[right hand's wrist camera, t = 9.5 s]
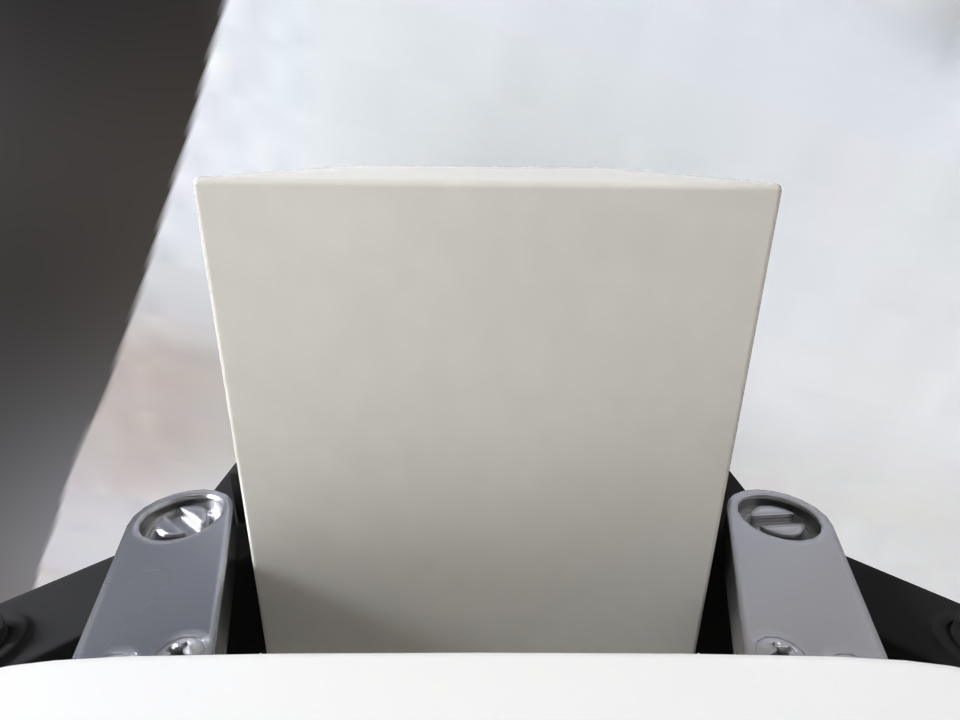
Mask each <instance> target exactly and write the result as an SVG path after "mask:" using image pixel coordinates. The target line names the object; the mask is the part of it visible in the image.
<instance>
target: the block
mask: <svg viewBox="0 0 960 720" xmlns="http://www.w3.org/2000/svg"><path fill="white" fill-rule="evenodd" d="M193 189H194V196H195V202H196V208H197V215H198V221H199V227H200V234H201V240H202V246H203V253H204V259H205V265H206V272H207V278H208V284H209V291H210V297H211V303H212V310H213V316H214V322H215V329H216V335H217V341H218V348H219V354H220V360H221V366H222V373H223V379H224V385H225V392H226V398H227V404H228V411H229V417H230V423H231V430H232V436H233V442H234V449H235V455H236V461H237V468H238V474H239V480H240V487H241V493H242V499H243V506H244V512H245V518H246V525H247V531H248V537H249V544H250V550H251V556H252V562H253V569H254V575H255V581H256V588H257V594H258V600H259V607H260V613H261V619H262V626H263V632H264V638H265V645H266V651H267V654H306V653H654V654H695V651H696V645H697V640H698V635H699V629H700V624H701V619H702V613H703V608H704V603H705V597H706V592H707V587H708V581H709V576H710V571H711V565H712V560H713V555H714V549H715V544H716V539H717V533H718V528H719V523H720V517H721V512H722V507H723V501H724V496H725V491H726V485H727V480H728V475H729V469H730V464H731V459H732V453H733V448H734V442H735V437H736V432H737V426H738V421H739V416H740V410H741V405H742V400H743V394H744V389H745V384H746V378H747V373H748V368H749V362H750V357H751V352H752V346H753V341H754V336H755V330H756V325H757V320H758V314H759V309H760V304H761V298H762V293H763V288H764V282H765V277H766V272H767V266H768V261H769V256H770V250H771V245H772V240H773V234H774V229H775V224H776V218H777V213H778V207H779V202H780V197H781V186H780V185H778V184H776V183H769V182H757V181H746V180H734V179H723V178H712V177H700V176H689V175H678V174H666V173H655V172H644V171H632V170H621V169H609V168H582V167H491V166H399V165H356V166H342V167H328V168H315V169H301V170H287V171H274V172H260V173H246V174H232V175H219V176H205V177H198V178H196V179H194V181H193Z"/></svg>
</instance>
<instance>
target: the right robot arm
mask: <svg viewBox="0 0 960 720" xmlns="http://www.w3.org/2000/svg"><path fill="white" fill-rule="evenodd" d="M259 653H261V654H259ZM698 653H700V654H698ZM0 720H960V604H959V603H957V602H954V601H952V600H950V599H947V598H945V597H942V596H940V595H938V594H935V593H933V592H930V591H928V590H926V589H923V588H921V587H918V586H916V585H914V584H911V583H909V582H906V581H904V580H902V579H899V578H897V577H894V576H892V575H890V574H887V573H885V572H882V571H880V570H878V569H875V568H873V567H870V566H868V565H866V564H863V563H861V562H858V561H856V560H854V559H851V558H849V557H847V556H845V554H844V551H843V549H842V547H841V544H840V542H839V539H838V537H837V535H836V532H835V530H834V527H833V525H832V524H831V522H830V521H829V519H828V518H827V517H826V516H825V515H824V514H823V513H822V512H820V511H819V510H818V509H817V508H815V507H814V506H812V505H810V504H808V503H806V502H805V501H803V500H800V499H798V498H795V497H792V496H790V495H787V494H783V493H779V492H774V491H768V490H746V491H745V490H744V489H743V487H742V486H741V485H740V484H739V482H738V481H737V480H736V478H735V477H734V476H733V475H732V473H731V472H730V471H729V475H728V480H727V485H726V491H725V496H724V501H723V507H722V512H721V517H720V523H719V528H718V533H717V539H716V544H715V549H714V555H713V560H712V565H711V571H710V576H709V581H708V587H707V592H706V597H705V603H704V608H703V613H702V619H701V624H700V629H699V635H698V640H697V645H696V651H695V654H654V653H306V654H267V651H266V645H265V638H264V632H263V626H262V619H261V613H260V607H259V600H258V594H257V588H256V581H255V575H254V569H253V562H252V556H251V550H250V544H249V537H248V531H247V525H246V518H245V512H244V506H243V499H242V493H241V487H240V480H239V474H238V468H237V462H236V463H235V465H234V466H233V467H232V468H231V470H230V471H229V472H228V474H227V475H226V476H225V477H224V479H223V480H222V481H221V482H220V484H219V485H218V486H217V487H216V489H215V490H192V491H186V492H181V493H177V494H173V495H170V496H168V497H165V498H162V499H160V500H157V501H155V502H154V503H152V504H150V505H148V506H146V507H145V508H143V509H142V510H141V511H140V512H138V513H137V514H136V515H135V516H134V517H133V518H132V519H131V521H130V522H129V524H128V525H127V527H126V530H125V532H124V535H123V537H122V539H121V542H120V544H119V547H118V549H117V551H116V554H115V556H113V557H110V558H108V559H106V560H103V561H101V562H98V563H96V564H94V565H91V566H89V567H86V568H84V569H82V570H79V571H77V572H75V573H72V574H70V575H67V576H65V577H63V578H60V579H58V580H55V581H53V582H51V583H48V584H46V585H43V586H41V587H39V588H36V589H34V590H31V591H29V592H27V593H24V594H22V595H19V596H17V597H15V598H12V599H10V600H8V601H5V602H3V603H0Z"/></svg>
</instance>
